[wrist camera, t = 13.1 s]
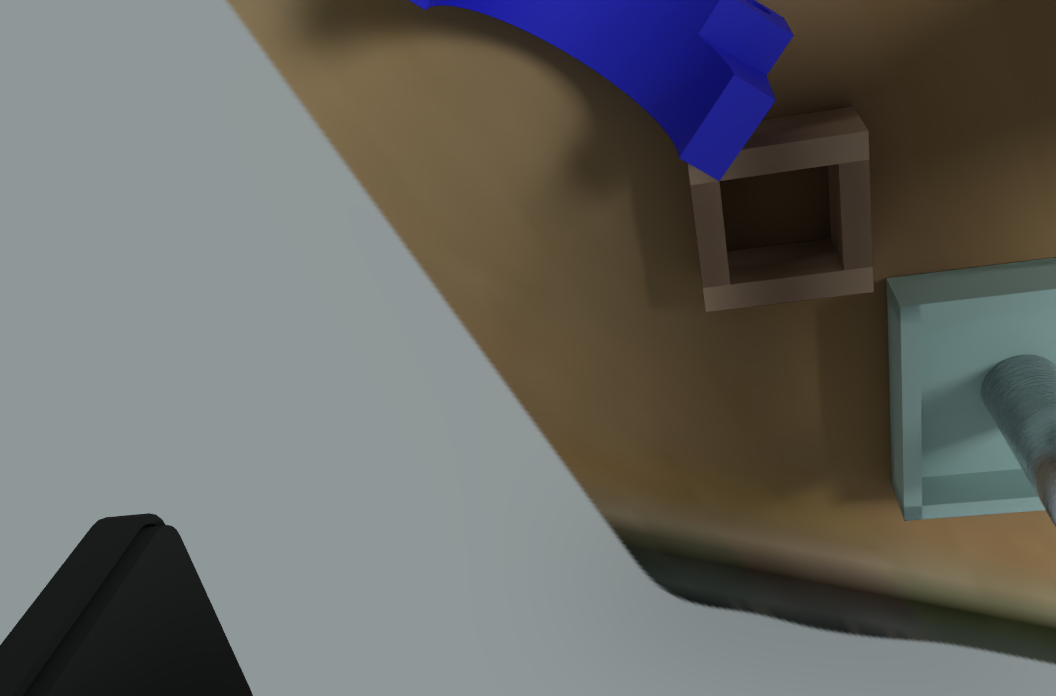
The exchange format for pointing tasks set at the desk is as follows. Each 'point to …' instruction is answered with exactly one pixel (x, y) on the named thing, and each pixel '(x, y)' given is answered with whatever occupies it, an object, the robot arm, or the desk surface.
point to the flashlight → (1027, 418)
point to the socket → (801, 264)
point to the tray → (961, 383)
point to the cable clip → (668, 60)
